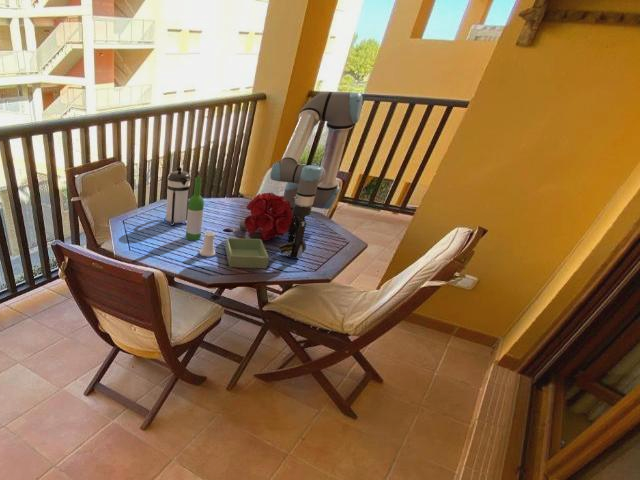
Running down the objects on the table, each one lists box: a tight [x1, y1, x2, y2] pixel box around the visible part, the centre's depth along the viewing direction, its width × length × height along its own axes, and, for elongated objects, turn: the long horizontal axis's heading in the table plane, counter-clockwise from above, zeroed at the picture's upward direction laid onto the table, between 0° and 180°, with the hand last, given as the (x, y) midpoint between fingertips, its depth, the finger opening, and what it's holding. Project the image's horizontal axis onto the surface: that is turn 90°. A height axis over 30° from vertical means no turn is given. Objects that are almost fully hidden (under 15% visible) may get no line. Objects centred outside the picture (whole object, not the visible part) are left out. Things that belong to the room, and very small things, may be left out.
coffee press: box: [163, 166, 192, 227], centre depth 216 cm, size 17×16×30 cm
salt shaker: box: [199, 231, 216, 258], centre depth 184 cm, size 8×8×10 cm
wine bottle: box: [185, 177, 205, 241], centre depth 195 cm, size 8×8×30 cm
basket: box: [224, 237, 270, 269], centre depth 182 cm, size 22×17×5 cm
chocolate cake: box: [278, 238, 307, 259], centre depth 180 cm, size 10×7×12 cm
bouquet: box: [238, 192, 293, 242], centre depth 199 cm, size 22×24×30 cm
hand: (290, 253), depth 181 cm, fingers closed on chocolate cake, 9 cm apart
